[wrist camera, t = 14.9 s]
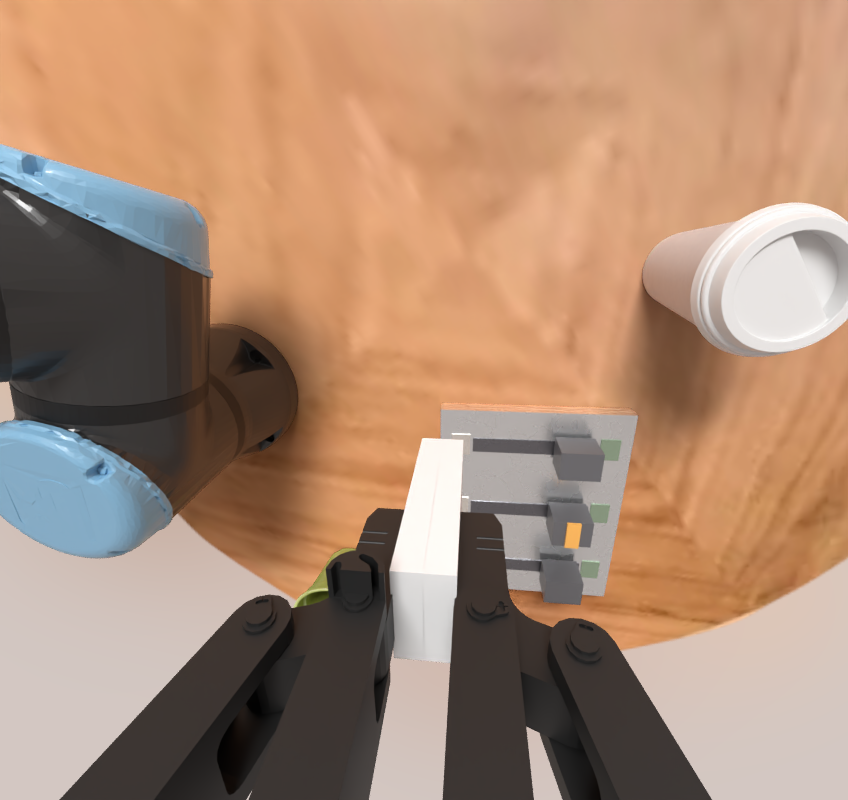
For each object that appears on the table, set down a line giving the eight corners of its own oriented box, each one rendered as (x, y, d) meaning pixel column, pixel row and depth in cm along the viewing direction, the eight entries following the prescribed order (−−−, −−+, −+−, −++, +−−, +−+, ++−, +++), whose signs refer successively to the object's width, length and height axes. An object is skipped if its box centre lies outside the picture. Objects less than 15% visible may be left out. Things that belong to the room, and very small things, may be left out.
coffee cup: (735, 309, 40) (876, 349, 26) (628, 330, 41) (706, 377, 27) (737, 200, 36) (899, 179, 23) (621, 228, 38) (706, 224, 24)
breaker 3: (539, 578, 51) (543, 602, 47) (541, 558, 49) (546, 581, 46) (573, 581, 50) (580, 604, 47) (576, 561, 49) (583, 584, 46)
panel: (441, 572, 55) (440, 584, 53) (442, 402, 46) (440, 409, 44) (599, 583, 53) (604, 596, 51) (631, 408, 44) (638, 416, 42)
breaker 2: (545, 524, 48) (551, 547, 44) (548, 501, 47) (554, 523, 43) (582, 526, 47) (591, 549, 44) (585, 503, 46) (595, 526, 43)
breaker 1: (552, 462, 45) (558, 480, 41) (555, 437, 44) (561, 453, 40) (591, 464, 44) (600, 482, 41) (595, 438, 43) (605, 455, 40)
